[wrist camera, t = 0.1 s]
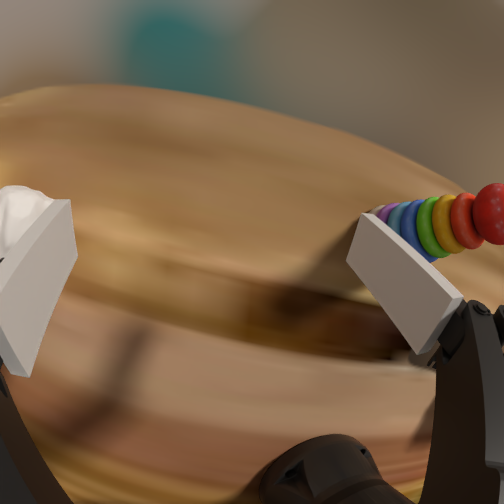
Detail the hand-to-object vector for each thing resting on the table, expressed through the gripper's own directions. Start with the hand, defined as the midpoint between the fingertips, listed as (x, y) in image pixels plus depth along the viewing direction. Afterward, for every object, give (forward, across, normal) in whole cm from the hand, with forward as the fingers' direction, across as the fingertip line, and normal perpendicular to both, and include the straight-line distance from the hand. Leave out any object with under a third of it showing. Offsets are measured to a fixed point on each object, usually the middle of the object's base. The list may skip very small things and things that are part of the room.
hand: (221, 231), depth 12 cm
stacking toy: (+14, -22, +7) cm, 27 cm away
